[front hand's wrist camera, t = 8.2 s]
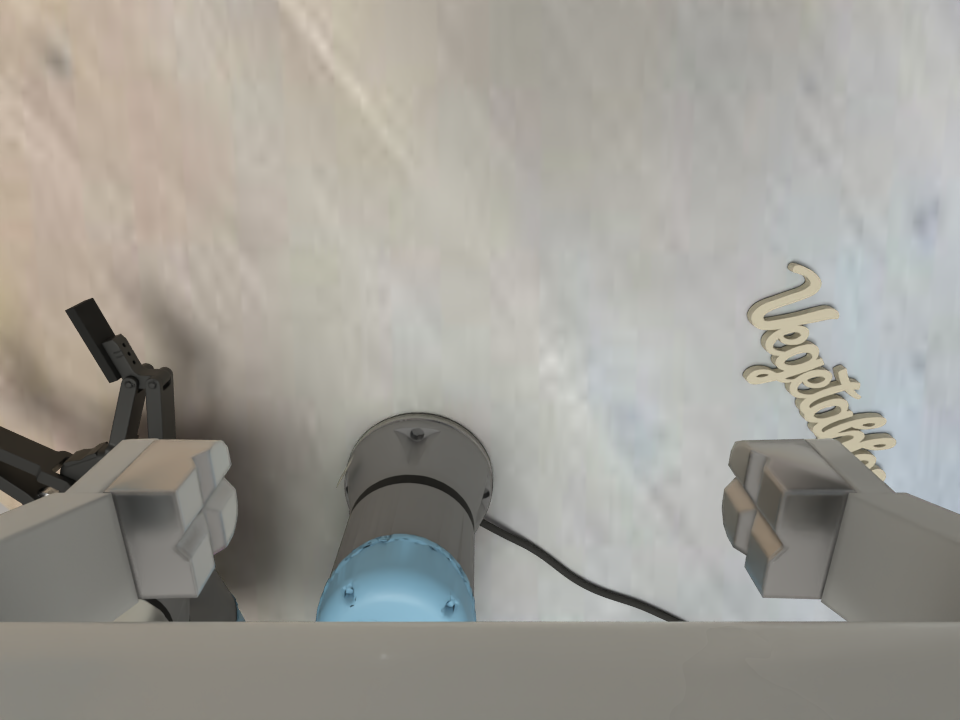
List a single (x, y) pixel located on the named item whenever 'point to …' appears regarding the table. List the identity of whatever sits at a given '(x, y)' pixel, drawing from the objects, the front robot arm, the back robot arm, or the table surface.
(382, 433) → the back robot arm
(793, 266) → the decorative sign
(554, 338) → the table surface
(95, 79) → the table surface
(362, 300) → the table surface
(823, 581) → the front robot arm
